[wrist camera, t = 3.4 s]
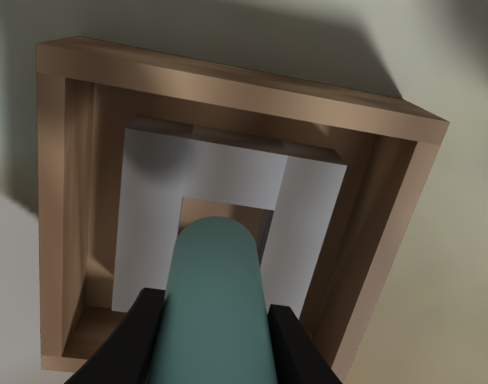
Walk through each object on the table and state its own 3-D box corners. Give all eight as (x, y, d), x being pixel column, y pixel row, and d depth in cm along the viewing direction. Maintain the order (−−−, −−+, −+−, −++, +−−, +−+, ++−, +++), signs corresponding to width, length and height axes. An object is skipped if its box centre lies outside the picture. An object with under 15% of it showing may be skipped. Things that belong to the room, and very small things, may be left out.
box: (403, 99, 20) (450, 122, 16) (320, 337, 27) (337, 397, 23) (77, 36, 18) (35, 43, 14) (70, 309, 25) (41, 369, 21)
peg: (262, 220, 15) (312, 467, 7) (251, 289, 16) (281, 570, 8) (176, 212, 15) (119, 462, 6) (171, 284, 16) (118, 569, 8)
